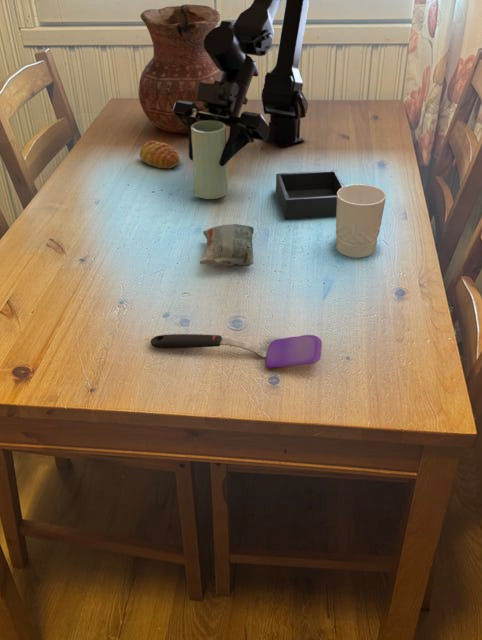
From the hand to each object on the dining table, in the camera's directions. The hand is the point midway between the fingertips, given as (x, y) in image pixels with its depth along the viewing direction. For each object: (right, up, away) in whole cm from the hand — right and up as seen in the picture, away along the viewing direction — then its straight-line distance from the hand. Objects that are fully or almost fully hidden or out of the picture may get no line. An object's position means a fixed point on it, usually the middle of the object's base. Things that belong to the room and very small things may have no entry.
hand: (205, 162), depth 130 cm
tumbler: (+1, -4, +5) cm, 7 cm away
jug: (-6, +20, +38) cm, 43 cm away
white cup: (+26, -18, -12) cm, 34 cm away
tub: (+20, -8, +2) cm, 22 cm away
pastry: (-10, +6, +20) cm, 23 cm away
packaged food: (+4, -20, -13) cm, 25 cm away
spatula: (+5, -37, -34) cm, 50 cm away
